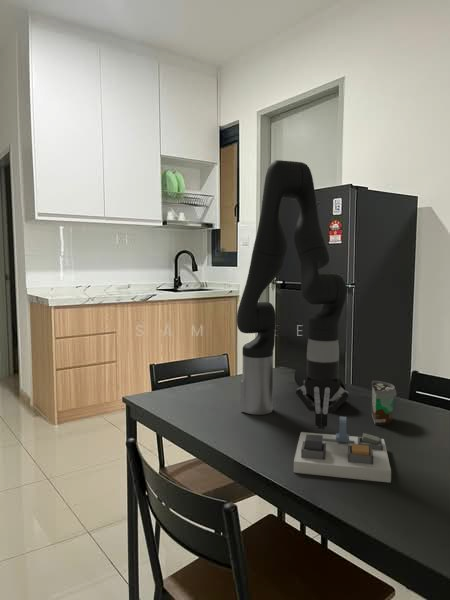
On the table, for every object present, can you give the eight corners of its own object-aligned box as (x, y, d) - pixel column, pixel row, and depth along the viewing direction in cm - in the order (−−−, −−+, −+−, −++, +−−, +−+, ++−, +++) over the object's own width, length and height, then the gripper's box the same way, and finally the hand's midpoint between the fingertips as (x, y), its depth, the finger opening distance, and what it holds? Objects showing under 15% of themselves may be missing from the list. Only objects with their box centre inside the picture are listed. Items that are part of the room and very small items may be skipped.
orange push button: (351, 460, 102) (351, 450, 102) (351, 453, 106) (351, 444, 106) (369, 461, 101) (369, 451, 101) (368, 455, 105) (368, 445, 105)
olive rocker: (362, 441, 110) (363, 436, 110) (362, 437, 112) (363, 432, 112) (378, 446, 109) (379, 441, 109) (377, 441, 112) (378, 437, 111)
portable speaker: (292, 388, 170) (292, 361, 169) (318, 387, 172) (318, 360, 171) (318, 410, 145) (318, 378, 144) (348, 408, 147) (349, 377, 146)
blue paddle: (336, 442, 111) (336, 422, 111) (336, 436, 116) (336, 416, 115) (349, 443, 111) (349, 423, 110) (348, 437, 115) (349, 417, 115)
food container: (399, 428, 129) (400, 392, 128) (375, 426, 130) (376, 391, 130) (392, 413, 141) (393, 381, 140) (371, 412, 142) (371, 380, 142)
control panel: (293, 472, 102) (293, 453, 102) (300, 441, 120) (300, 425, 119) (390, 482, 98) (391, 463, 97) (383, 448, 115) (383, 432, 115)
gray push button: (305, 449, 105) (305, 440, 104) (306, 443, 108) (306, 434, 108) (321, 451, 104) (321, 441, 104) (322, 445, 107) (322, 435, 107)
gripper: (293, 359, 111) (292, 431, 112) (351, 362, 108) (350, 435, 110) (296, 353, 118) (295, 420, 120) (350, 355, 115) (349, 424, 117)
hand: (321, 427), depth 115 cm, fingers closed
